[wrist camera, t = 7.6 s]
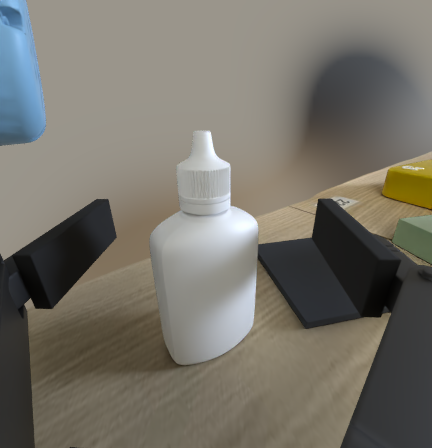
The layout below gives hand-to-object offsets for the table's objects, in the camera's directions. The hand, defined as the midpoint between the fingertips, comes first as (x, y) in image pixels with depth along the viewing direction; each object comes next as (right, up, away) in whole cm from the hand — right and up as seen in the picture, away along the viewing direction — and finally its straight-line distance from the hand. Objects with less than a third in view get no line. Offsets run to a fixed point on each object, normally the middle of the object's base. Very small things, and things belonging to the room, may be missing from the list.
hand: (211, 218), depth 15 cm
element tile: (+36, +3, +20) cm, 41 cm away
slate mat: (+10, -5, +5) cm, 12 cm away
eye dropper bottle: (0, -8, 0) cm, 8 cm away
